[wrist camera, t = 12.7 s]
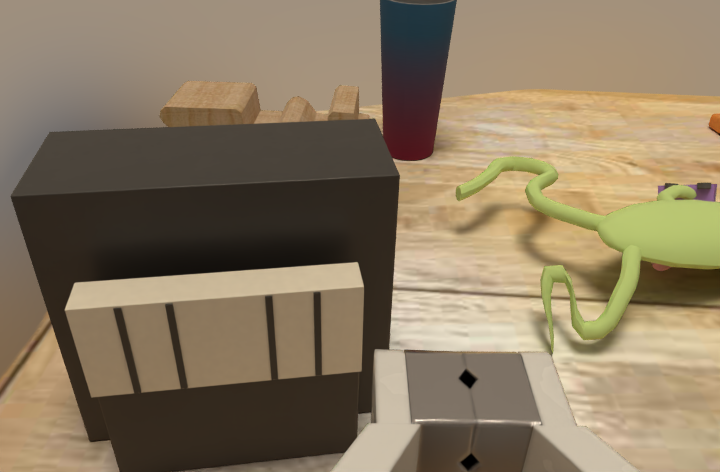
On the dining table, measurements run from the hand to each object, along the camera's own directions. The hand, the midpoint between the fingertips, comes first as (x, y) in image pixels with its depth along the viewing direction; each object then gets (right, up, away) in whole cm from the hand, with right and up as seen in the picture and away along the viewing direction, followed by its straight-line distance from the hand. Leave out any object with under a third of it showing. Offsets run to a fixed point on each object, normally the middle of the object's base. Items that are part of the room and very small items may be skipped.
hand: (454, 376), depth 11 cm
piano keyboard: (-8, -4, +18) cm, 20 cm away
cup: (+3, +11, +53) cm, 55 cm away
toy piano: (-8, -7, +26) cm, 28 cm away
